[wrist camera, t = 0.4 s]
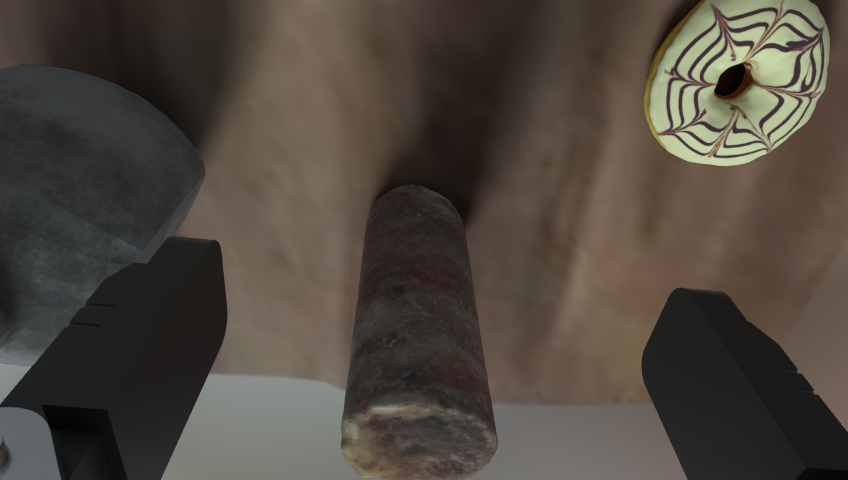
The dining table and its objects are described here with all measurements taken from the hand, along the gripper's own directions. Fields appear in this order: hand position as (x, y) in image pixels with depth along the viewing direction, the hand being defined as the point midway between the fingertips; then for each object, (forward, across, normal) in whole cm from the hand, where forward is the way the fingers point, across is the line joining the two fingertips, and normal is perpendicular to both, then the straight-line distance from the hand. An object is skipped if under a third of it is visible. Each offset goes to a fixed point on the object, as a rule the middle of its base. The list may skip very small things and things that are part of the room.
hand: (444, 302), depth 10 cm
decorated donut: (+28, -19, +1) cm, 34 cm away
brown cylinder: (+28, -1, +15) cm, 31 cm away
